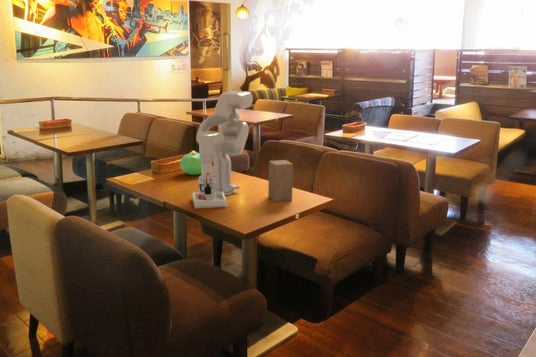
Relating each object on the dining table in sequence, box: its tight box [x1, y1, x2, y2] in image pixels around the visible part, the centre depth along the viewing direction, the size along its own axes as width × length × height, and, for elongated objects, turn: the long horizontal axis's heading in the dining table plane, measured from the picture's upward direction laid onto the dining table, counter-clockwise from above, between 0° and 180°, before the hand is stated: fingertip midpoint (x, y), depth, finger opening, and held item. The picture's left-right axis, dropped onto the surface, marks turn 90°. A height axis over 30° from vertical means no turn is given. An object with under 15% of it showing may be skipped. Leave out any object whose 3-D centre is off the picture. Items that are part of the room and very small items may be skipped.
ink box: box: [197, 174, 216, 200], centre depth 257 cm, size 9×5×12 cm, turn 90°
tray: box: [192, 191, 228, 209], centre depth 259 cm, size 16×16×4 cm
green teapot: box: [179, 150, 201, 176], centre depth 314 cm, size 18×17×15 cm
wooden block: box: [267, 159, 294, 203], centre depth 267 cm, size 10×10×20 cm
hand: (207, 192), depth 258 cm, fingers closed on ink box, 5 cm apart
